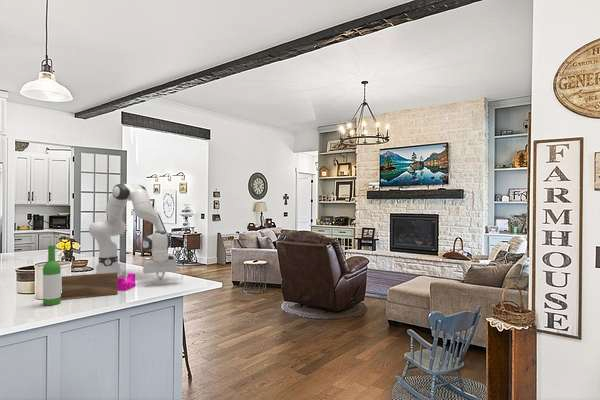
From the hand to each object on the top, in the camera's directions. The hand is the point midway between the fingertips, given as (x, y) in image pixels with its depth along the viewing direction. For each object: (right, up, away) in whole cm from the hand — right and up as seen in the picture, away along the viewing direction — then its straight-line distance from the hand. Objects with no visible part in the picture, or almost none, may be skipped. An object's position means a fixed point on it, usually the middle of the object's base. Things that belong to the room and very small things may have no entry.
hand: (160, 279), depth 235 cm
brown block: (-31, -4, -23) cm, 39 cm away
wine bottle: (-40, -4, -41) cm, 58 cm away
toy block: (-17, -4, -7) cm, 19 cm away
